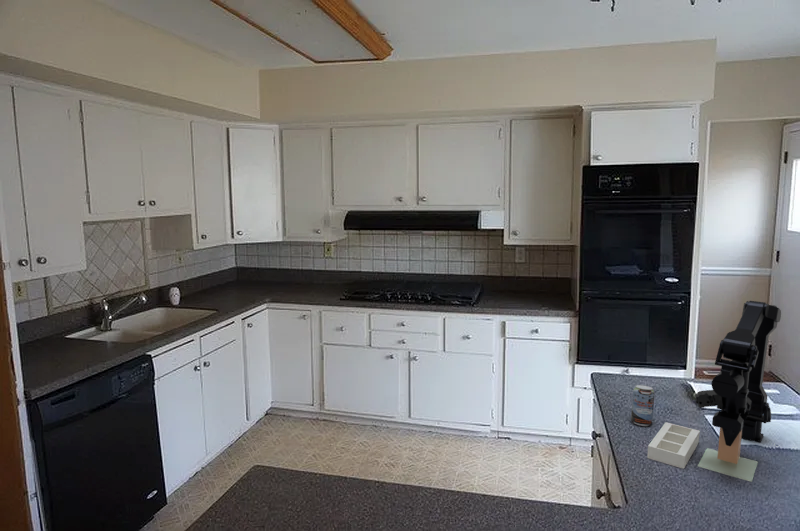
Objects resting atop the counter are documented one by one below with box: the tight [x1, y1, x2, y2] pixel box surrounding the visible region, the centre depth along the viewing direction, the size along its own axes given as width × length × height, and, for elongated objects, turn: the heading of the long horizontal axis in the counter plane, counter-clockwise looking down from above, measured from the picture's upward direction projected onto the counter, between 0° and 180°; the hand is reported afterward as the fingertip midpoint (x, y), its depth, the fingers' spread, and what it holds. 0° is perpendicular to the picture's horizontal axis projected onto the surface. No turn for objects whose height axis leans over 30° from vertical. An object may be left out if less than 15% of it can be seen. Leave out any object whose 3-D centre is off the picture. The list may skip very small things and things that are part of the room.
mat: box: [697, 447, 759, 483], centre depth 142 cm, size 12×12×1 cm
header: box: [646, 421, 701, 469], centre depth 150 cm, size 18×9×4 cm, turn 140°
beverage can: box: [630, 384, 655, 427], centre depth 166 cm, size 6×7×12 cm
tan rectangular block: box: [717, 427, 742, 464], centre depth 141 cm, size 5×5×10 cm
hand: (729, 442), depth 141 cm, fingers closed on tan rectangular block, 4 cm apart
